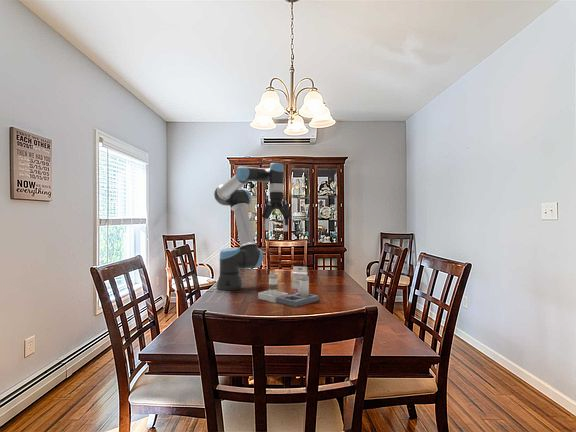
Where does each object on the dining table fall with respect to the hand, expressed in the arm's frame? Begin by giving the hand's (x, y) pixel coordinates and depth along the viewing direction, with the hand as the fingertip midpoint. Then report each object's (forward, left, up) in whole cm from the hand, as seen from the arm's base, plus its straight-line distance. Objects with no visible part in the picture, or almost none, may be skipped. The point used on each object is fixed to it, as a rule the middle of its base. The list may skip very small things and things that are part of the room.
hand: (276, 230), depth 197 cm
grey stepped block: (+7, +12, -35) cm, 38 cm away
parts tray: (+6, -8, -35) cm, 36 cm away
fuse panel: (+19, -3, -35) cm, 40 cm away
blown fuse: (+6, -8, -34) cm, 36 cm away
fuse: (+19, +2, -35) cm, 40 cm away
